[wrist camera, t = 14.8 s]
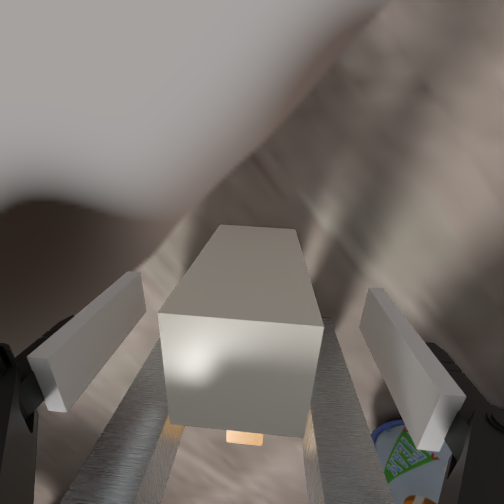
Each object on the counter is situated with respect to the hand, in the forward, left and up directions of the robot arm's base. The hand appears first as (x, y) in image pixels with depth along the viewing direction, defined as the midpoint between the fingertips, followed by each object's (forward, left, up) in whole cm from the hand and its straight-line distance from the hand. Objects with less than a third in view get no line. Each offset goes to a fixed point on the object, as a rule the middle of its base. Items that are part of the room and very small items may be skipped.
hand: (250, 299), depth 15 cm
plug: (0, -8, -7) cm, 11 cm away
